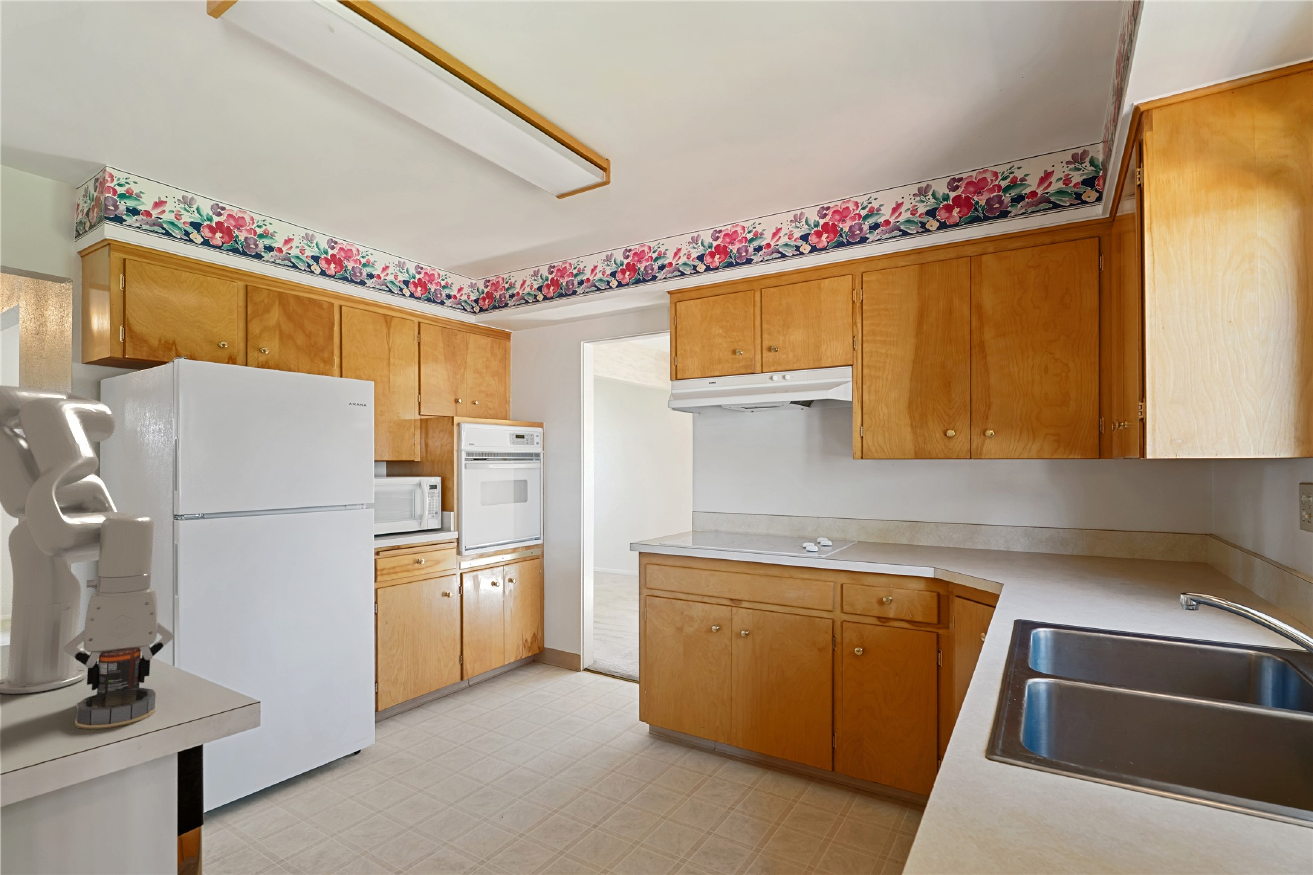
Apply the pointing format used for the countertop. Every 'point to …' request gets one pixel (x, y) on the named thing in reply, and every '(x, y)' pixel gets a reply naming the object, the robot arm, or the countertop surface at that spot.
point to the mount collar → (115, 708)
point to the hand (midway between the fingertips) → (118, 683)
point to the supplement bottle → (118, 670)
